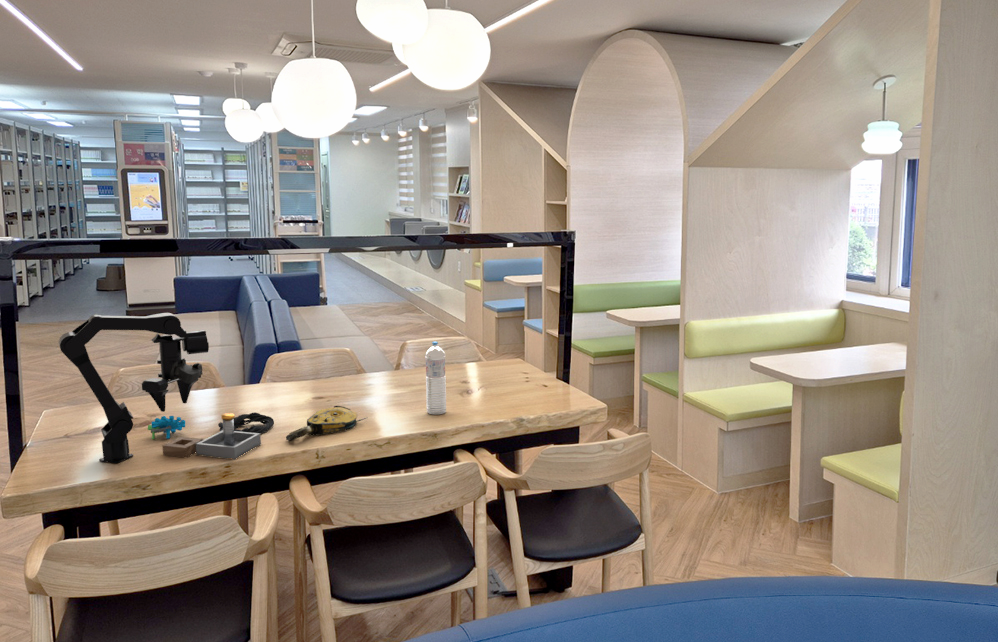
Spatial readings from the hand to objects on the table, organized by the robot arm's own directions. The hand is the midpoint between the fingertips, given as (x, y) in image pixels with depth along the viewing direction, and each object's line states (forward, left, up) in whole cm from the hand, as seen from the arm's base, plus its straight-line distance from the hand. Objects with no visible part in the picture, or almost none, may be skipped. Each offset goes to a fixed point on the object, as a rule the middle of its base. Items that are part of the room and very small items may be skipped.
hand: (174, 407), depth 220 cm
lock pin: (+3, -16, -12) cm, 20 cm away
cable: (+20, -11, -13) cm, 26 cm away
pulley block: (+26, -34, -13) cm, 45 cm away
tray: (+3, -16, -13) cm, 21 cm away
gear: (+9, +11, -13) cm, 19 cm away
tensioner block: (-2, -4, -13) cm, 14 cm away
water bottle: (+54, -63, -13) cm, 84 cm away
